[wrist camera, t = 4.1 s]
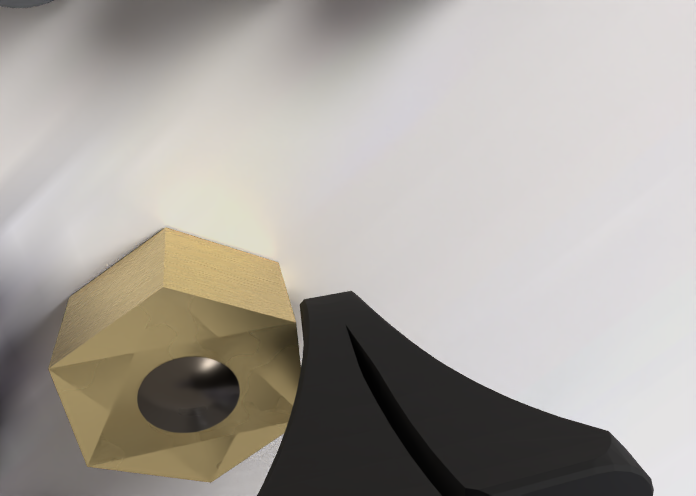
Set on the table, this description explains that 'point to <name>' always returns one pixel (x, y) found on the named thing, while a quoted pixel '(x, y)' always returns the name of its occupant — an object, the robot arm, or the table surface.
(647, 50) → the table surface
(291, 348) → the nut
